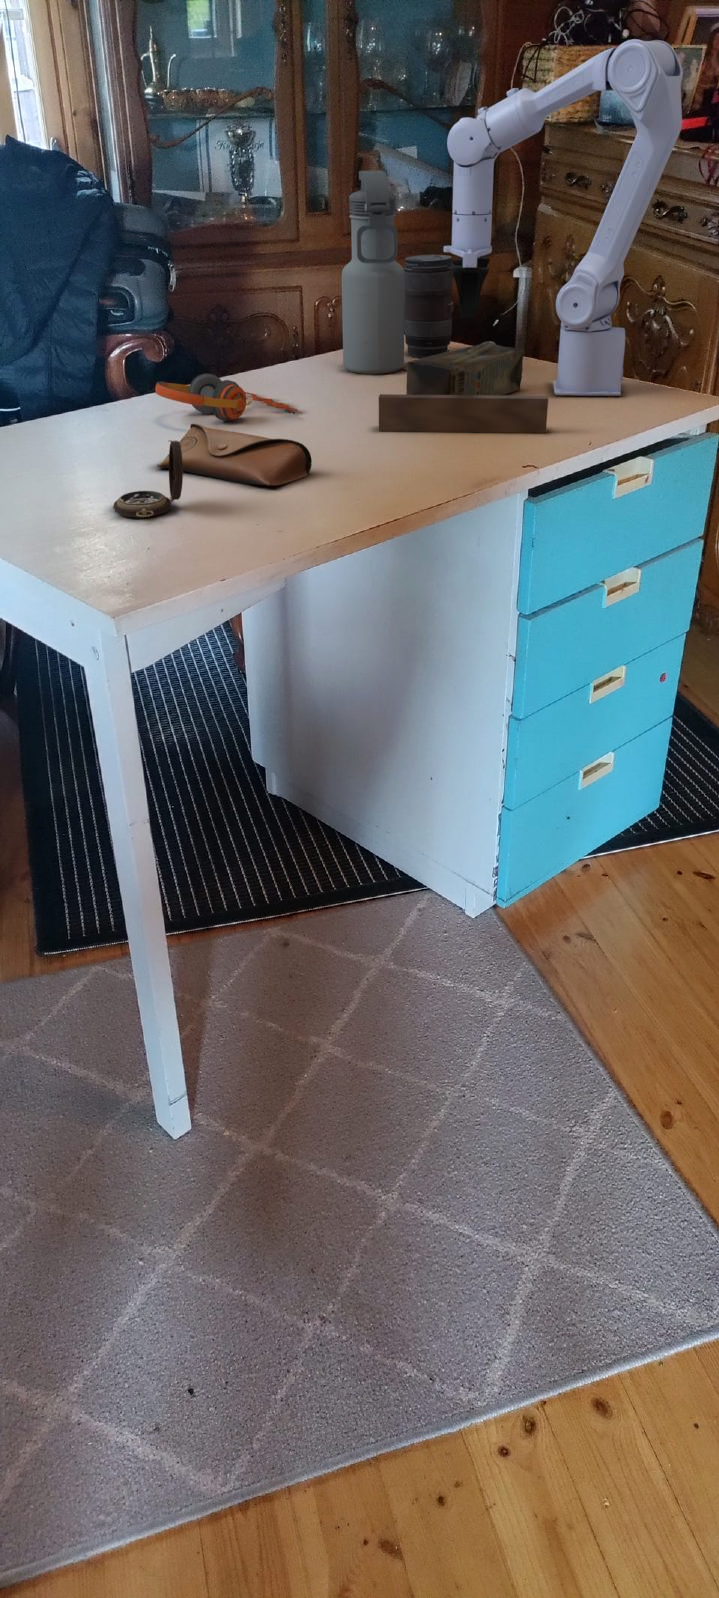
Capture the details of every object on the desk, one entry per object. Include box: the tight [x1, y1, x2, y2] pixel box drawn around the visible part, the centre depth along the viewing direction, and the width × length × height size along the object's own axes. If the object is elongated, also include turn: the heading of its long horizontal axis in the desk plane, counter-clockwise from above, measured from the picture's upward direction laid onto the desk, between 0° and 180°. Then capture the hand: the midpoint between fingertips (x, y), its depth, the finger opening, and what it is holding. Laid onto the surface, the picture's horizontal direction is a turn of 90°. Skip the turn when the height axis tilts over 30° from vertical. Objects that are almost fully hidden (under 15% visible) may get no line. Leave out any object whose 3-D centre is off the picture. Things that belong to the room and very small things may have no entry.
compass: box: [112, 439, 184, 518], centre depth 128 cm, size 8×8×7 cm
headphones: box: [155, 373, 299, 422], centre depth 165 cm, size 17×5×20 cm
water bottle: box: [341, 169, 405, 375], centre depth 183 cm, size 10×10×28 cm
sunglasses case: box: [156, 423, 313, 487], centre depth 142 cm, size 18×7×7 cm
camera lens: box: [403, 254, 454, 358], centre depth 196 cm, size 8×8×15 cm
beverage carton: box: [405, 340, 524, 396], centre depth 170 cm, size 8×19×7 cm, turn 140°
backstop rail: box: [378, 393, 549, 434], centre depth 156 cm, size 22×2×4 cm, turn 84°
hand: (468, 313), depth 179 cm, fingers open, 7 cm apart
